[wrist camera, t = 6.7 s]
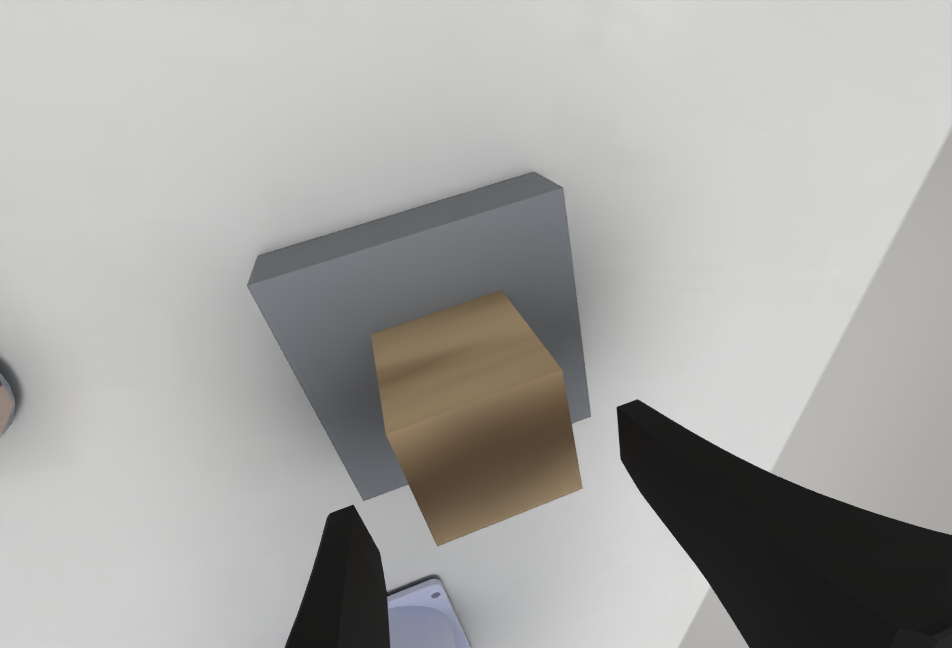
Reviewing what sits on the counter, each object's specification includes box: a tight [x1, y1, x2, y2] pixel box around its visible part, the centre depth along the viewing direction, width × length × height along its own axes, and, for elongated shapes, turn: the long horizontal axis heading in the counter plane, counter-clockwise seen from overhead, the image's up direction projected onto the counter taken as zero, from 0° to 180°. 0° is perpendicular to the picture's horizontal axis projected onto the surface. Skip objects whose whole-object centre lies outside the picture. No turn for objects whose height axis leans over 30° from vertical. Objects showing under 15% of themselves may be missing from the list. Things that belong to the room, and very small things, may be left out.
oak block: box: [371, 290, 582, 546], centre depth 15 cm, size 5×5×5 cm
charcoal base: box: [247, 172, 591, 501], centre depth 18 cm, size 10×10×3 cm
